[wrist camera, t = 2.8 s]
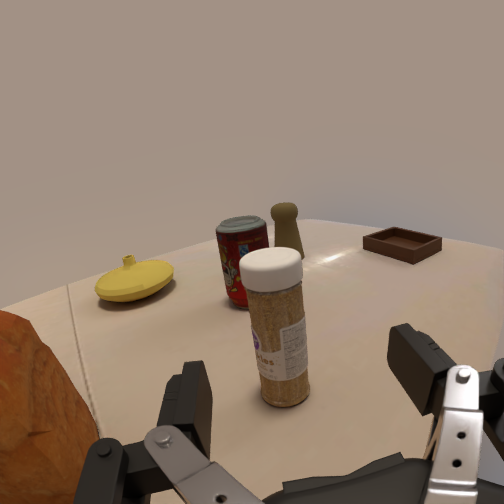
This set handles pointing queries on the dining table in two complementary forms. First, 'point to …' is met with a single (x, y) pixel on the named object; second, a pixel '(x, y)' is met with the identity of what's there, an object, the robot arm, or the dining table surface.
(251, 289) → the sprinkles bottle
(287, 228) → the chess piece
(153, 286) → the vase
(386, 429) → the dining table surface
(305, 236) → the dining table surface
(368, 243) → the serving tray
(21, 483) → the bread
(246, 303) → the soda can
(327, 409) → the dining table surface
